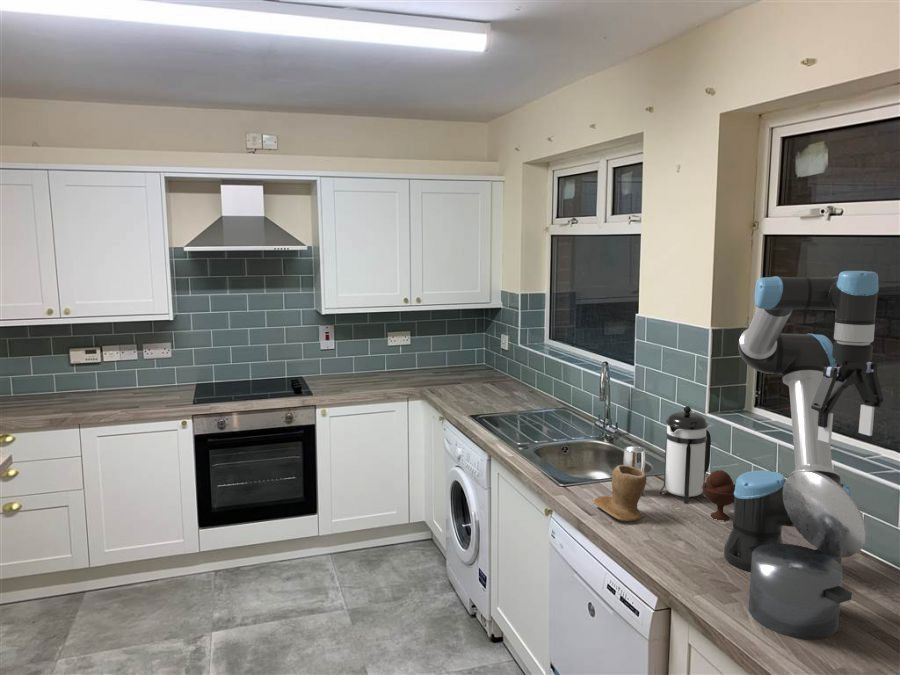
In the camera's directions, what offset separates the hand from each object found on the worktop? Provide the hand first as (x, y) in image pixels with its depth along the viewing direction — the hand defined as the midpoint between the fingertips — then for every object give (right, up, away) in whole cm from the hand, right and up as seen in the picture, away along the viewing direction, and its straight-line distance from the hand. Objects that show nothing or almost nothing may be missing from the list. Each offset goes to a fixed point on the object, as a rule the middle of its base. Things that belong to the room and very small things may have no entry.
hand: (845, 437), depth 152 cm
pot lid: (-5, -17, 0) cm, 18 cm away
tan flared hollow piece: (-35, -32, +58) cm, 75 cm away
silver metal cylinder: (-27, -29, +75) cm, 85 cm away
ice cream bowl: (-6, -32, +55) cm, 64 cm away
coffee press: (-10, -30, +74) cm, 80 cm away
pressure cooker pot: (-10, -40, +2) cm, 41 cm away
